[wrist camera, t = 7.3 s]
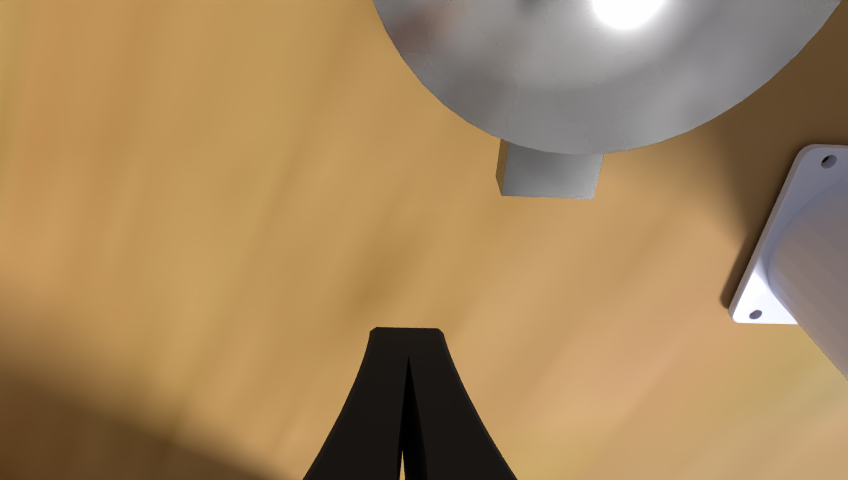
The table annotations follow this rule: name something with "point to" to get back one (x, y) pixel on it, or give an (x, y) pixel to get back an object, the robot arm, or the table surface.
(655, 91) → the lid
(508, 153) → the pot
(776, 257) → the robot arm
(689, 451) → the table surface
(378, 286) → the table surface
